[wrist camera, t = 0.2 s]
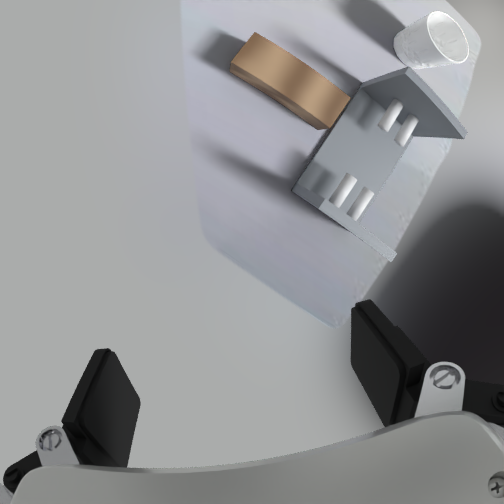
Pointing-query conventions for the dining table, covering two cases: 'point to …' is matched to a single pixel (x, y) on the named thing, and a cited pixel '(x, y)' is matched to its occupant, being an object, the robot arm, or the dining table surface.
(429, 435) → the robot arm
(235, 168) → the dining table surface
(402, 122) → the peg frame
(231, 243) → the dining table surface
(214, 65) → the dining table surface
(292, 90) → the shelf board
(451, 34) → the white cup
